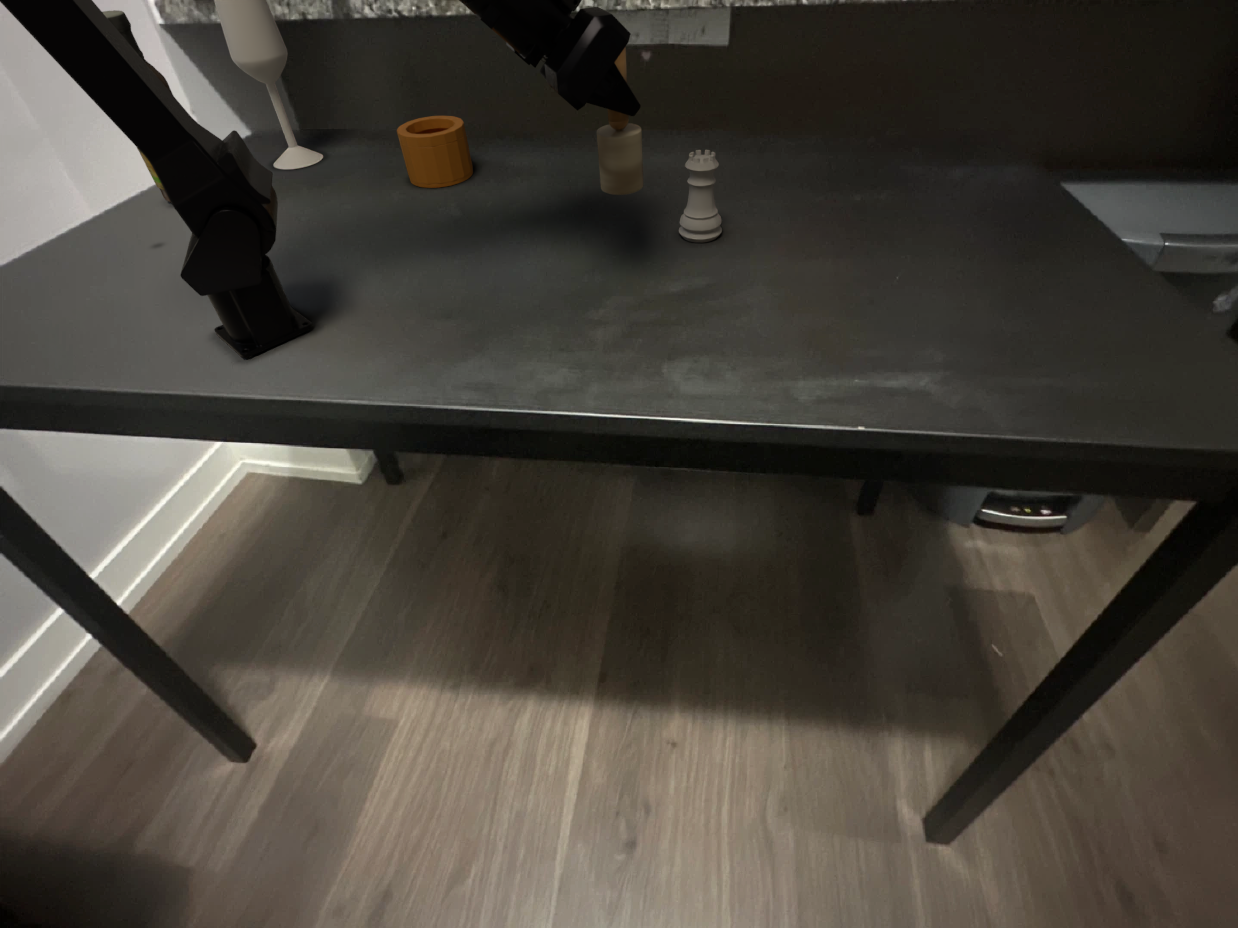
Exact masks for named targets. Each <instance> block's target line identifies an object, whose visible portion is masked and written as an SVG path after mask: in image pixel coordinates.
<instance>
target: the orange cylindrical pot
mask: <svg viewBox="0 0 1238 928" xmlns="http://www.w3.org/2000/svg"><path fill="white" fill-rule="evenodd" d="M396 134H397V138H398V140H399V145H400V150H401V153H402V156H403V160H404V165H405V168H406V173H407V176H408V178H409V181H410V183H411V184H412V185H413V186H415V187H419V188H423V189H438V188H439V189H440V188H446V187H451V186H454V185H457V184H460V183H463V182H465V181H467V180H469V179H470V178H471V177H472V176H473V173H474V169H473V168H474V167H473V161H472V156H471V151H470V147H469V142H468V137H467V132H466V126H465V122H464V121H463V119H462V118H460V117H457V116H454V115H432V116H431V115H430V116H424V117H419V118H414V119H412V120H408V121H406V122H405V123H403V124H400V125H399V126H398V127H397V129H396Z"/></svg>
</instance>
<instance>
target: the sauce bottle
mask: <svg viewBox="0 0 1238 928" xmlns="http://www.w3.org/2000/svg"><path fill="white" fill-rule="evenodd" d="M102 13H103V14H104V15H105V16H106V17H107V18H108V20H109V21H110V22H111V23H112V24H113V25H114V27H115V28H116V29H117V30H118V31H119V33H120V34H121V35H122V36H123V37H124V38H125V40H126V41H127V42H128V43H129V44H130V45H131V47H132V48H133V49H134V50H135V51H136V53H137V54H138V55H139V56H140V57H141V58H142V60H143V61H144V62H145V63H146V64H147V65H148V67H149V68H150V69H151V70H152V71H153V73H154V74H155V75H156V76H157V77H158V78H159V80H160V81H161V82H162V83H163V84H164V85H165V87H166V88H167V89H168V90H169V91H170V93H171V94H172V95H173V96H174V94H173V91H172V89H171V88H170V84H169V83H168V80H167V79H166V77H165V76H164V75H163V74H162V73H161V71H159V70H157V68H155V66H153V65H152V64H151V63H150V62H148V61H147V60H146V59H145V56H144V53H143V51H142V50H141V48H140V47H139V44H138V43H137V39H136V38H135V35H134V34H133V31H132V24H131V22H130V20H129V18H128V17H127V15H126V13H125V12H124V10H119V9H118V10H105V11H102ZM136 149H137V151H138V153H139V154H140V156H141V158H142V161H143V162H144V164H145V166H146V168H147V171H148V172H149V174H150V176H151V178H152V180H153V182H154V184H155V186H156V187H157V188H158V189H159V191H160V193H161V195H162V197H163V199H164V200H165V201H166V202H168V203H171V201H170V199H169V197H168V195H167V193H166V191H165V190H164V188H163V186H162V184H161V182H160V180H159V178H158V176H157V174H156V172H155V170H154V169H153V167H152V165H151V163H150V162H149V161H148V159H147V158H146V156H145V155H144V154H143V153H142V152H141V151H140V150H139V149H138V148H137V147H136Z"/></svg>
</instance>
